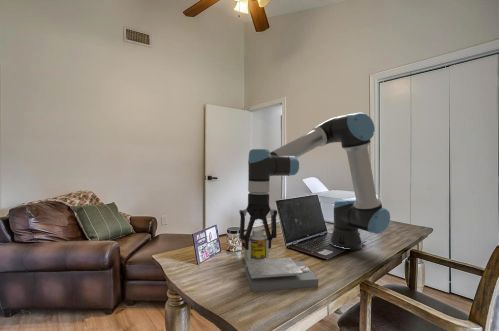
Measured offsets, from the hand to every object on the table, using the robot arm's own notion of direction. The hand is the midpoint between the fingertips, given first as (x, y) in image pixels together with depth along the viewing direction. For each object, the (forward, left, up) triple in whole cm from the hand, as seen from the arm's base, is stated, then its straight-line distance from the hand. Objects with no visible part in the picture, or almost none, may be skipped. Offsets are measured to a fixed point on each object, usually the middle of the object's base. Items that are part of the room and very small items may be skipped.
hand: (257, 257), depth 89 cm
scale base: (-8, 0, -8) cm, 11 cm away
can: (-3, -19, -8) cm, 20 cm away
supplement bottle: (0, 0, -1) cm, 1 cm away
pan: (-6, 0, -4) cm, 7 cm away
